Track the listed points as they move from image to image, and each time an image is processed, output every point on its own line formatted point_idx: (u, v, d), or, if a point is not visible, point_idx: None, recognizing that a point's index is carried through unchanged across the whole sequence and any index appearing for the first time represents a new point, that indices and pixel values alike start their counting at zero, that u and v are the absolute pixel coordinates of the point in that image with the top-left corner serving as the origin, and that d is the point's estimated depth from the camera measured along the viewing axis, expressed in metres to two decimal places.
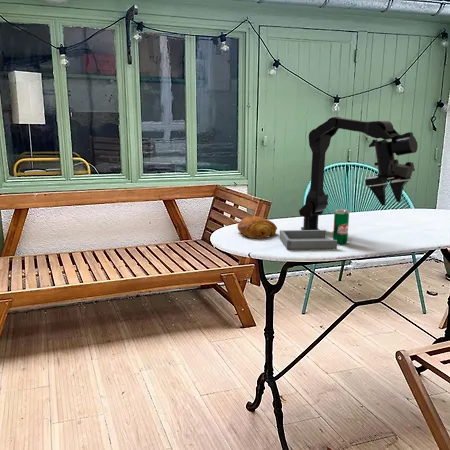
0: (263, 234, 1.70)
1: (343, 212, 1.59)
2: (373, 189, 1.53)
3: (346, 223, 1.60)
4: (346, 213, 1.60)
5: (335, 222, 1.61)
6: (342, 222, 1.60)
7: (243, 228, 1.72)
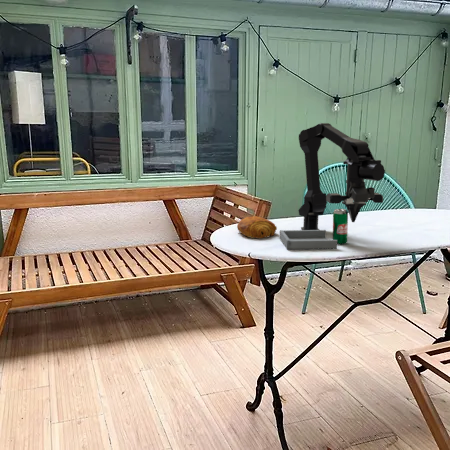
0: (263, 234, 1.70)
1: (342, 212, 1.59)
2: (346, 205, 1.63)
3: (345, 223, 1.60)
4: (345, 213, 1.59)
5: (334, 222, 1.61)
6: (341, 222, 1.60)
7: (243, 228, 1.72)
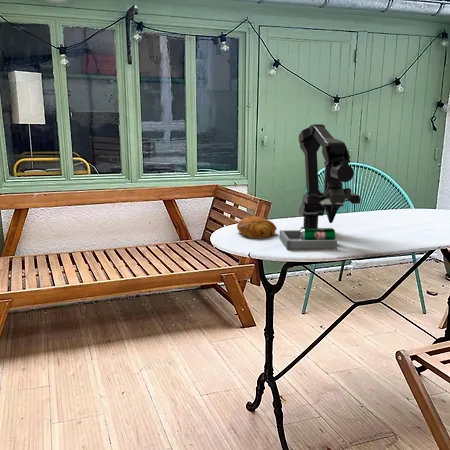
0: (262, 234, 1.70)
1: (303, 237, 1.60)
2: (324, 205, 1.62)
3: (314, 233, 1.60)
4: (304, 234, 1.60)
5: None
6: (312, 238, 1.60)
7: (242, 228, 1.72)
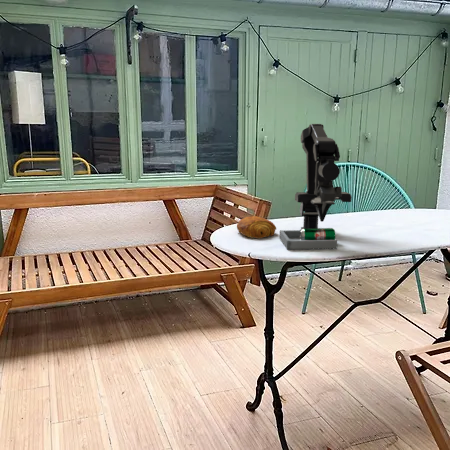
0: (262, 234, 1.70)
1: (303, 237, 1.60)
2: None
3: (314, 233, 1.60)
4: (304, 234, 1.60)
5: None
6: (312, 238, 1.60)
7: (242, 228, 1.72)
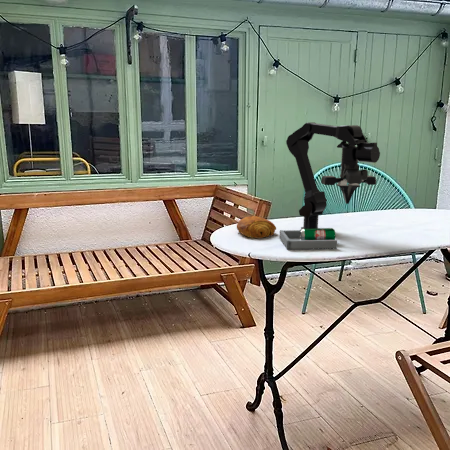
0: (262, 234, 1.70)
1: (303, 237, 1.60)
2: (340, 187, 1.69)
3: (314, 233, 1.60)
4: (304, 234, 1.60)
5: None
6: (312, 238, 1.60)
7: (242, 228, 1.72)
